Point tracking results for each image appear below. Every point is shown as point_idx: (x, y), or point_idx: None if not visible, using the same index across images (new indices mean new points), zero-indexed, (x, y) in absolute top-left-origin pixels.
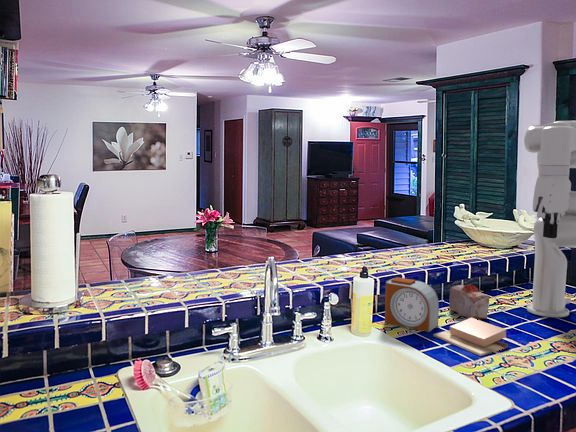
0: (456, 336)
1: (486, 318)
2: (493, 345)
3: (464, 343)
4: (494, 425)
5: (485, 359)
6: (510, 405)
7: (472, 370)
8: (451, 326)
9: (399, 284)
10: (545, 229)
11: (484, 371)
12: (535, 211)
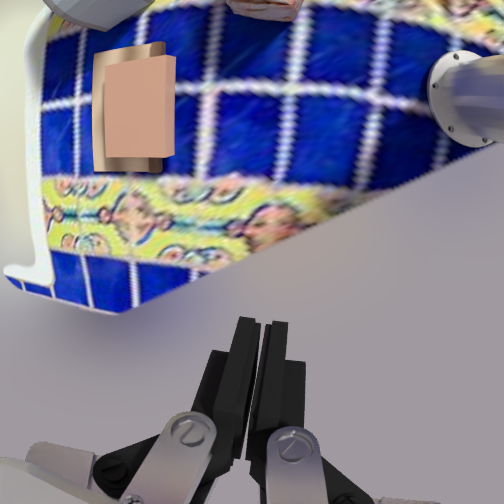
0: None
1: (289, 20)
2: None
3: (103, 119)
4: (23, 291)
5: (94, 184)
6: (48, 283)
7: (57, 202)
8: (106, 68)
9: None
10: (204, 383)
11: (68, 214)
12: (25, 468)
